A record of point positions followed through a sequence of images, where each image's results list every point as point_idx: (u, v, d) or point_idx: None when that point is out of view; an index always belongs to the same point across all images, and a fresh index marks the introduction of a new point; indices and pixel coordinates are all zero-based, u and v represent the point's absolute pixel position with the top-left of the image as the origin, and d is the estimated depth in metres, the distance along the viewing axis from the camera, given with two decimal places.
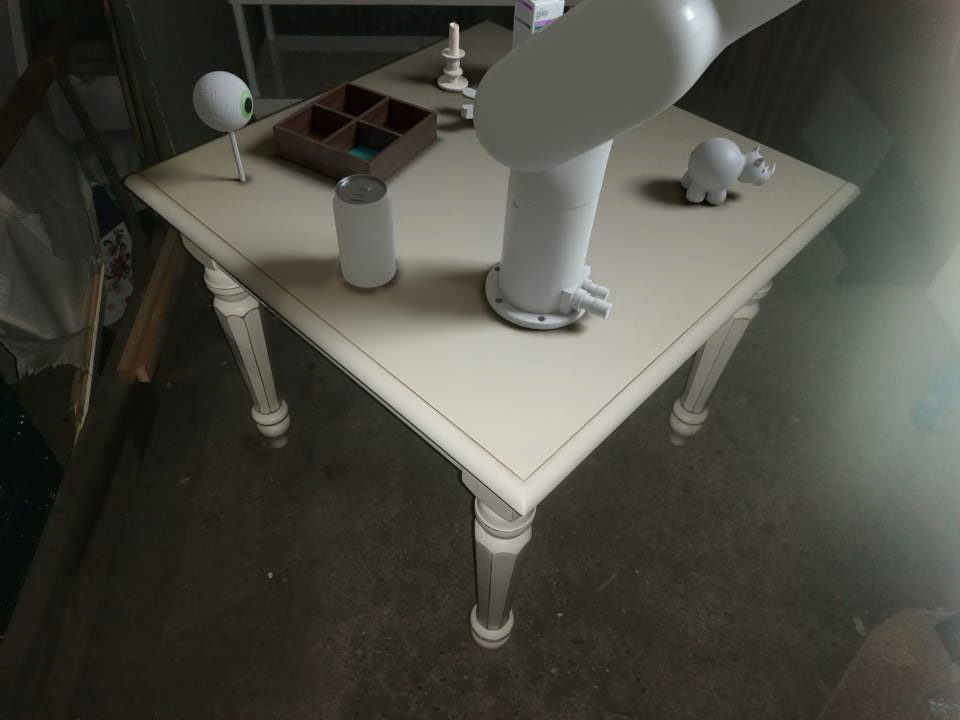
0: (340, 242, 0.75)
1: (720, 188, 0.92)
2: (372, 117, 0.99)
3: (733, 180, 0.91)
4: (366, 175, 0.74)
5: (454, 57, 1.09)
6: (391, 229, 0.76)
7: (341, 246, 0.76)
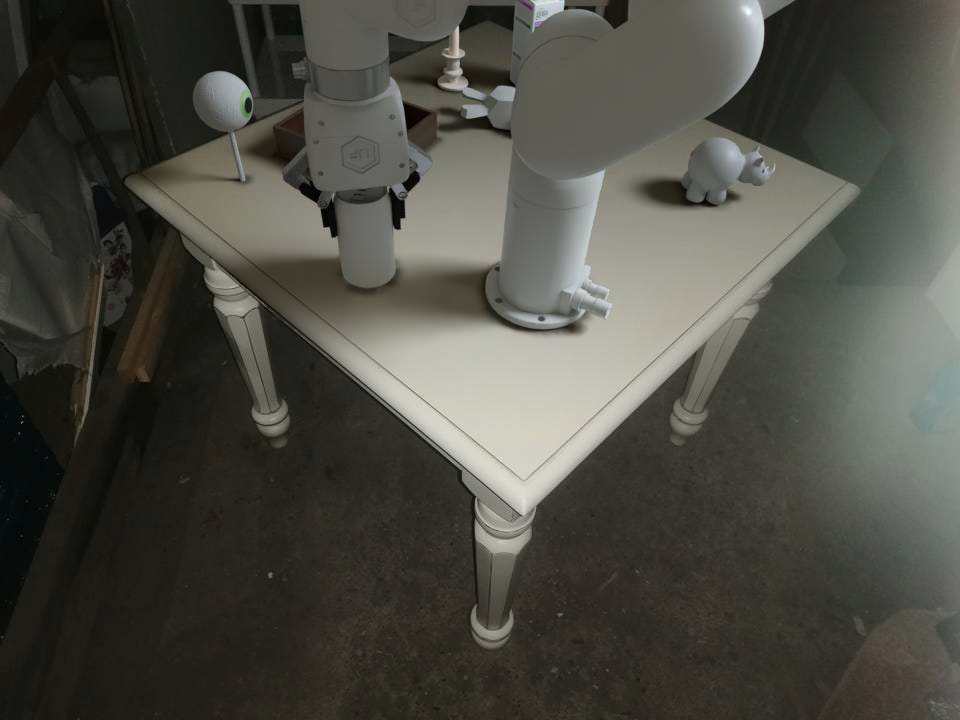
0: (340, 242, 0.75)
1: (720, 188, 0.92)
2: None
3: (733, 180, 0.91)
4: None
5: (454, 57, 1.09)
6: (391, 229, 0.76)
7: (341, 246, 0.76)
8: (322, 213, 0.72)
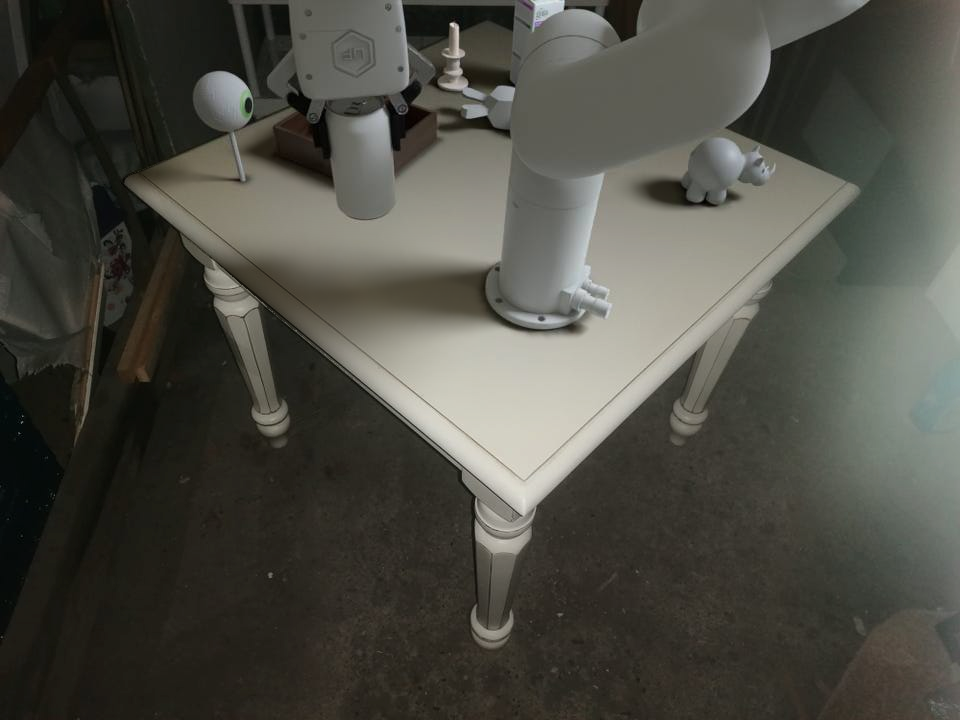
0: (334, 165, 0.68)
1: (720, 188, 0.92)
2: None
3: (733, 180, 0.91)
4: None
5: (454, 57, 1.09)
6: (390, 150, 0.68)
7: (335, 169, 0.68)
8: (313, 130, 0.65)
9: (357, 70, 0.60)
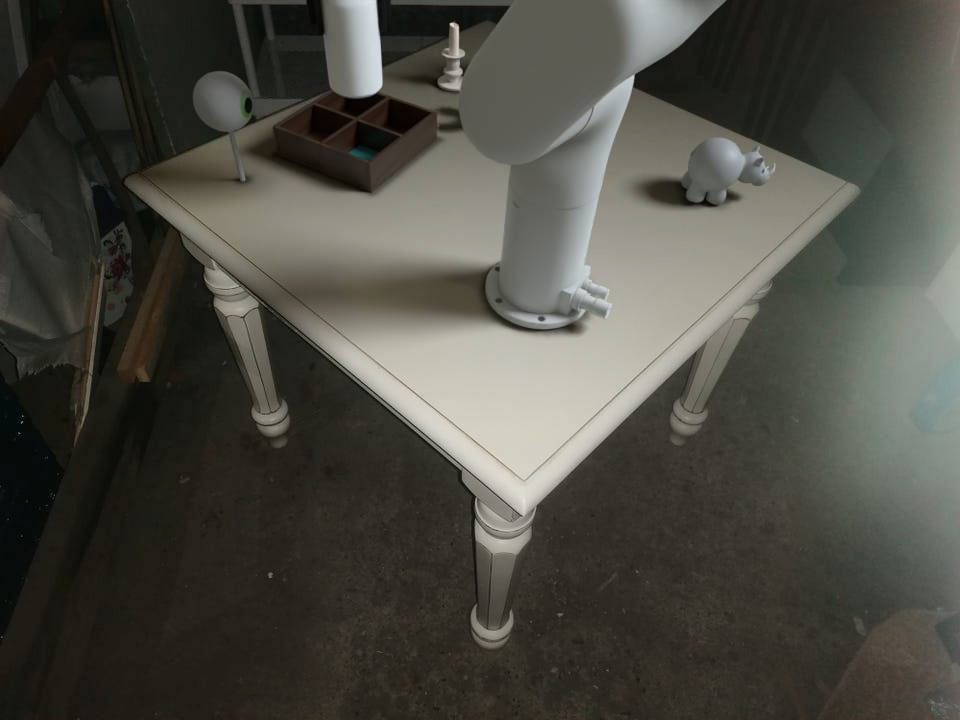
0: (327, 43, 0.76)
1: (720, 188, 0.92)
2: (372, 117, 0.99)
3: (733, 180, 0.91)
4: None
5: (454, 57, 1.09)
6: (377, 30, 0.76)
7: (328, 47, 0.76)
8: (308, 6, 0.73)
9: None
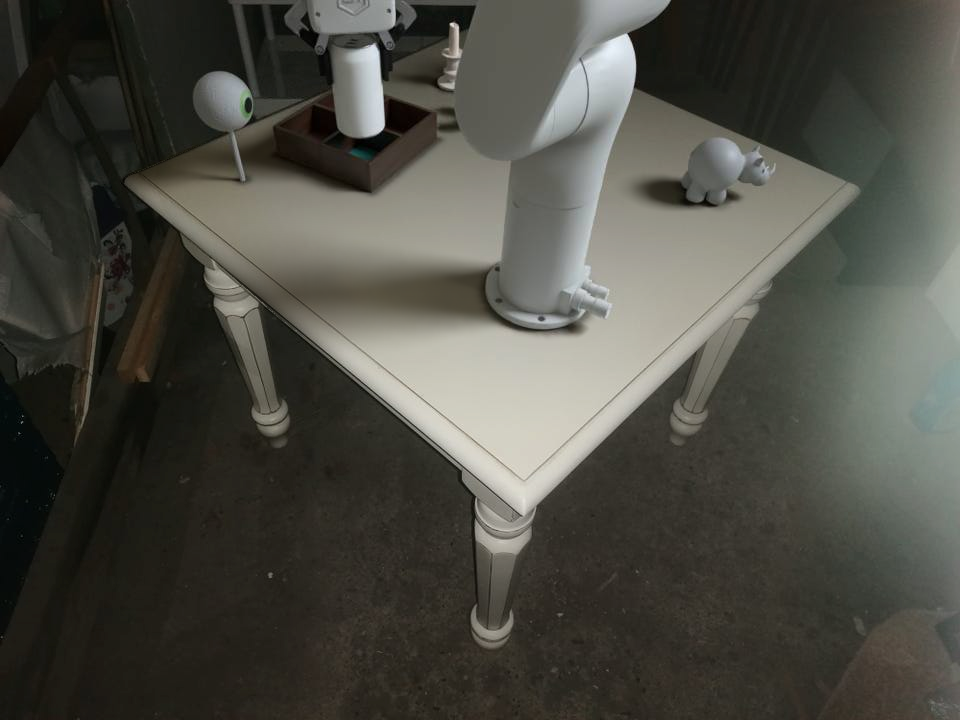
0: (335, 91, 0.86)
1: (720, 188, 0.92)
2: None
3: (733, 180, 0.91)
4: None
5: (454, 57, 1.09)
6: (380, 79, 0.86)
7: (336, 94, 0.86)
8: (319, 60, 0.83)
9: (355, 10, 0.78)
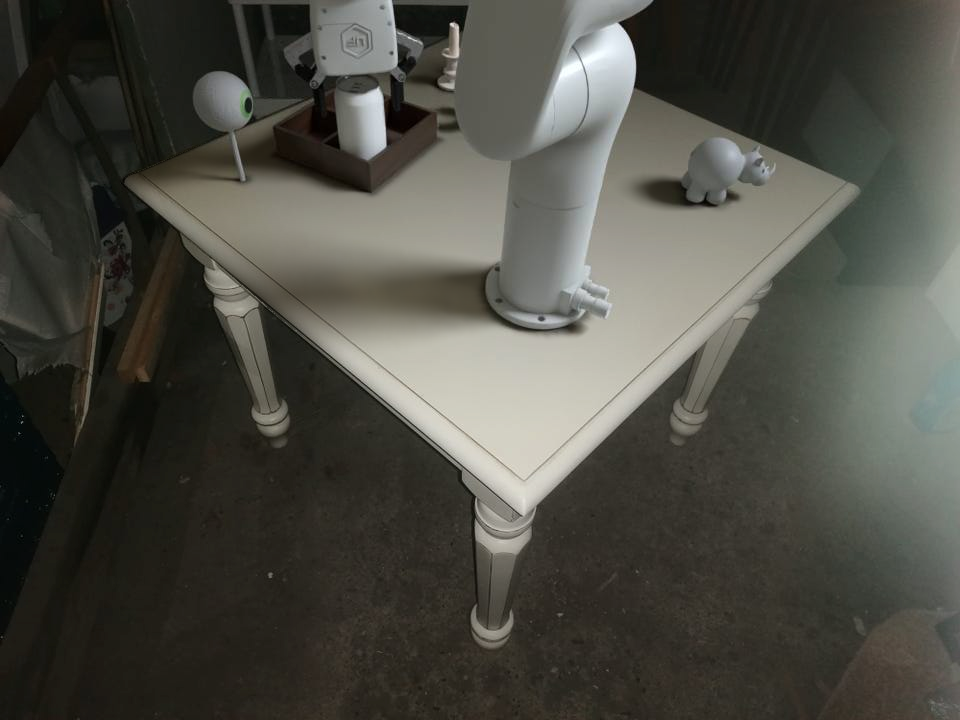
0: (340, 131, 0.90)
1: (720, 188, 0.92)
2: None
3: (733, 180, 0.91)
4: None
5: (454, 57, 1.09)
6: (383, 120, 0.90)
7: (341, 134, 0.90)
8: (314, 94, 0.85)
9: (359, 53, 0.81)
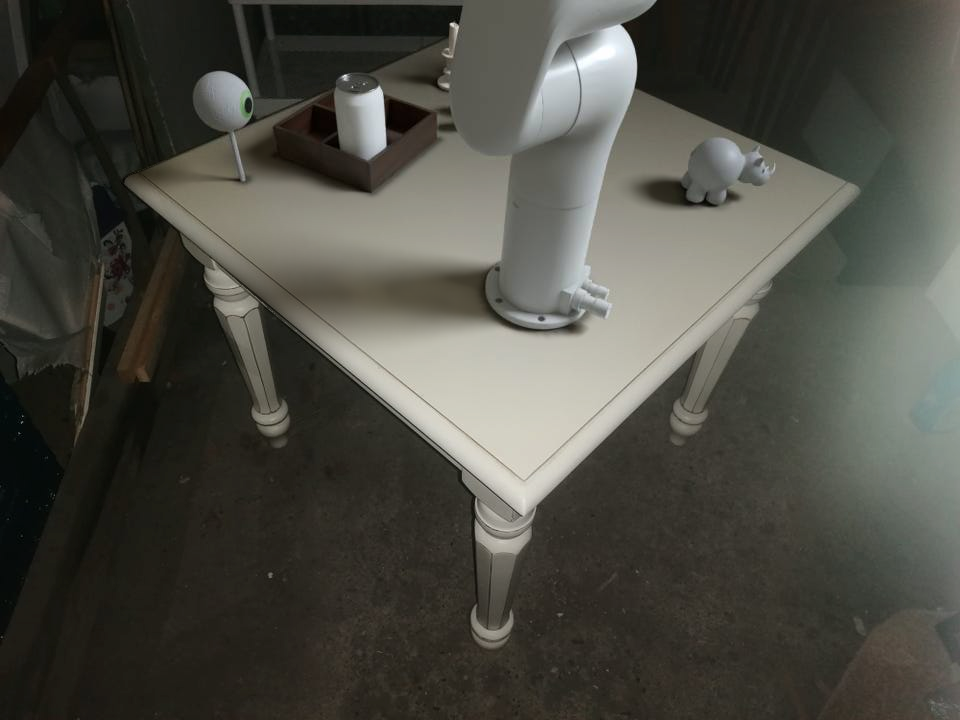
0: (340, 131, 0.90)
1: (720, 188, 0.92)
2: None
3: (733, 180, 0.91)
4: (362, 73, 0.88)
5: None
6: (383, 120, 0.90)
7: (341, 134, 0.90)
8: None
9: None
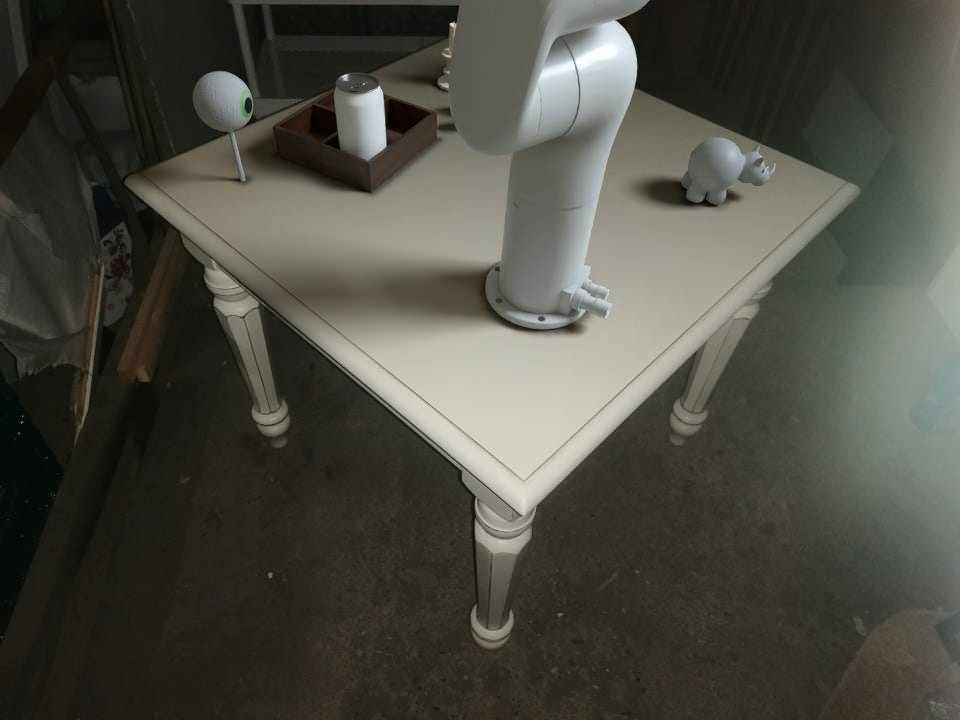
0: (340, 131, 0.90)
1: (720, 188, 0.92)
2: None
3: (733, 180, 0.91)
4: (362, 73, 0.88)
5: None
6: (383, 120, 0.90)
7: (341, 134, 0.90)
8: None
9: None
